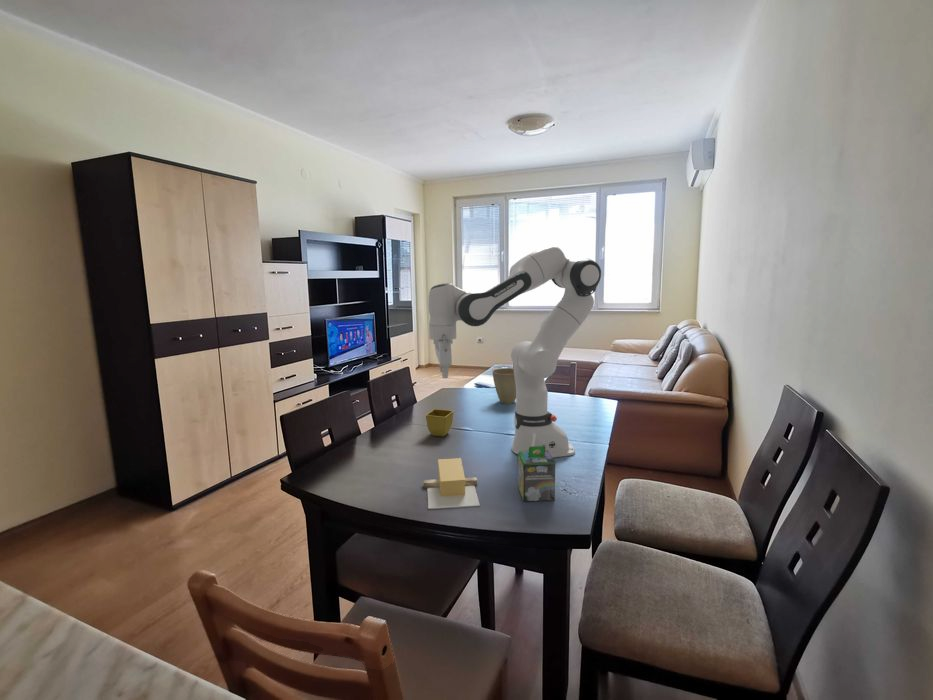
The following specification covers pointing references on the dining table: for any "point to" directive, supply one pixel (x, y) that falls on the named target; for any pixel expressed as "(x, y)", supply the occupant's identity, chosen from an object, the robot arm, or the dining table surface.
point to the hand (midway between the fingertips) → (444, 374)
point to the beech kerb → (436, 484)
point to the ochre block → (451, 477)
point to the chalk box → (536, 474)
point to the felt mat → (452, 499)
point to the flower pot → (439, 421)
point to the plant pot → (505, 384)
